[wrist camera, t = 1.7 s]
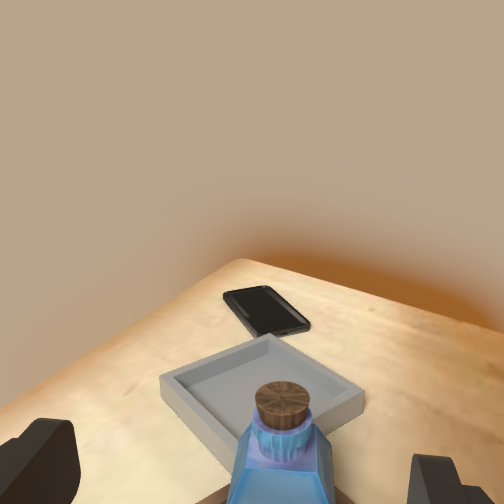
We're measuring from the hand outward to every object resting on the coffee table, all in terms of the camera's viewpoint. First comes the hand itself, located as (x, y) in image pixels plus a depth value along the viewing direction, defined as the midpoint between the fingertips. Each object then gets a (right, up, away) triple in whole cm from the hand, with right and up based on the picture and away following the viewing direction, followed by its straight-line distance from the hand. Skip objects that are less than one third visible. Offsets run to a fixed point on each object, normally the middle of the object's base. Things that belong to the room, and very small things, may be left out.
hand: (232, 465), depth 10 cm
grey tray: (+1, -10, +33) cm, 35 cm away
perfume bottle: (+2, -15, +19) cm, 24 cm away
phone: (+2, -4, +53) cm, 53 cm away
